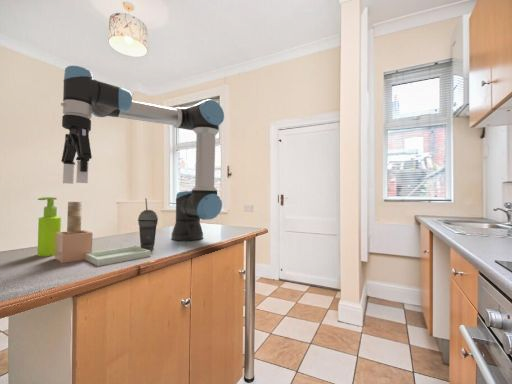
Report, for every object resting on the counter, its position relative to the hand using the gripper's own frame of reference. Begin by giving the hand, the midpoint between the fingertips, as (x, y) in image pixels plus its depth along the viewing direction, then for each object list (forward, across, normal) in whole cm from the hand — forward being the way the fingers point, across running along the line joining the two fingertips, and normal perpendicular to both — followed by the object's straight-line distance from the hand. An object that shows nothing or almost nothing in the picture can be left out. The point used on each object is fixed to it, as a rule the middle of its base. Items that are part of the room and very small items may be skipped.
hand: (74, 183), depth 80 cm
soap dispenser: (+25, -12, -4) cm, 28 cm away
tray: (+25, +9, +10) cm, 28 cm away
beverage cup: (+25, +1, +24) cm, 35 cm away
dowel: (+24, 0, 0) cm, 24 cm away
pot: (+25, 0, 0) cm, 25 cm away
